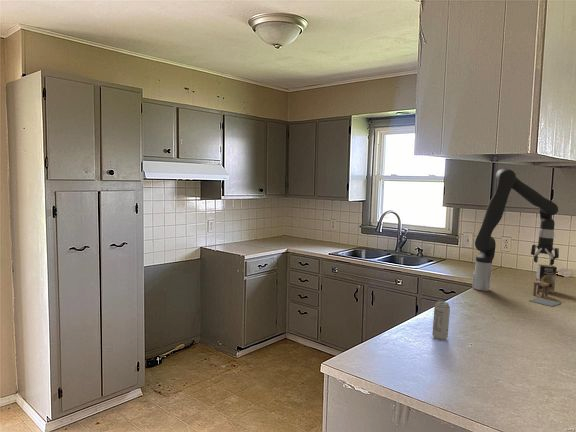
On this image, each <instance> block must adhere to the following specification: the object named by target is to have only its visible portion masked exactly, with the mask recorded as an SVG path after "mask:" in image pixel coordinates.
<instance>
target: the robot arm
mask: <svg viewBox="0 0 576 432" xmlns="http://www.w3.org/2000/svg"><path fill="white" fill-rule="evenodd" d="M495 179H496V180H497V188H496V190H495V193H494V194H493V196H492V198H491V199H490V200H489V203H487V207H486V210H485V215H484V216H483V217H484V218H483V220H482V223H481V226H480V228H479V232H478V234H477V235H476V239H475V241H474V247H475V249H476V250H478V251H479V254H478V255H476V257H475V267H474V272H473V274H472V281H471V288H472V289H475V290H477V291H483V292H486V291H487V292H488V291H489V292H490V289H491V279H492V271H493V270H492V269H493V268H492V267H493V260H494V258H495V254H496V248H497V247H496V246H497V245H496V240H495V237H493V236H492V233H493V231H494V230H495V228H496V227H497V226H498V224H499V223H500V222H501V220H502V218H503V215H504V212H505V210H506V209H505V208H506V205H507V203H508V199H509V195H510V193H511V190H513V191H515V192H516V193H517V194H518V195H520V196H521V197H522V198H524V199H525V201H527V202H528V203H530V204H531V205H533V206H535V207H537V208H539V218H540V227H539V232H538V242H537V245H536V244H532V245H531V249H530V250H531V251H530V255H532V256H533V262H534V263H538V260H539V255H542V254H544V255H547V256H548V257H549V258H550V261H549V265H550V266H554V265H555V260H556V259H559V258H560V257H559V253H560V252H559V251H560V248H558V247H554V239H555V225H556V223H555V220H554V219H553V216H555V215H556V214H558V213H559V206H558V205H557V204H556V203H555V202H553V201H551V200H549V199H548V198H547V197H544V196H543V195H542V194H540V193H539V192H538V191H536V190H535V189H533V188H532V187H530V186H529V185H528V184H525V182H523V181H522V180H520V179H519V178H518V177H517V175H516V173H515V171H514V170H512V169H510V168H508V167H507V168H506V167H504V168H503V167H502V168H500V169H499V170H497V171H496V173H495ZM536 250H537V251H536ZM553 252H554V253H553Z"/></svg>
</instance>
